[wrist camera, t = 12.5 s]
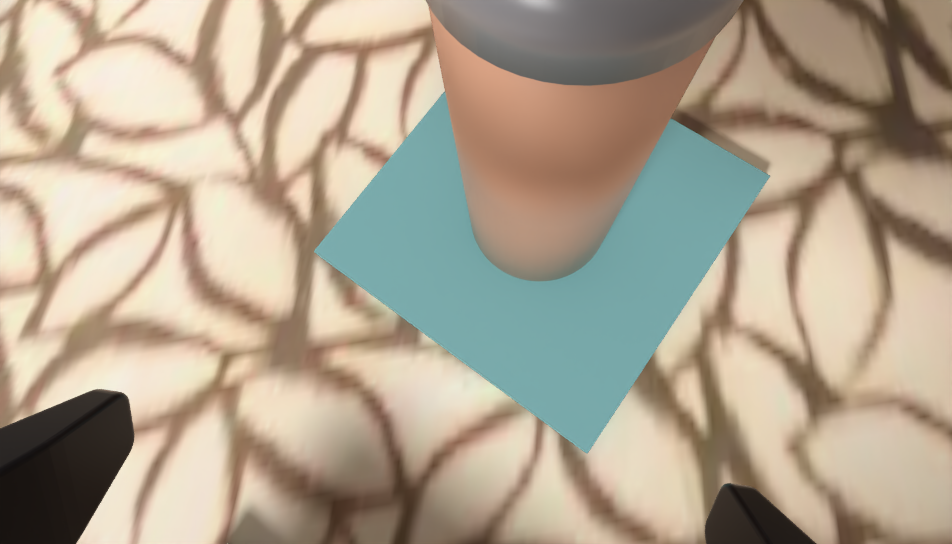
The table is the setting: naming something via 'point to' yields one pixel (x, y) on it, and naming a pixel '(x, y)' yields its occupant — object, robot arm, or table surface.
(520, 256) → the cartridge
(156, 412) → the table surface
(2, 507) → the robot arm
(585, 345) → the mat
